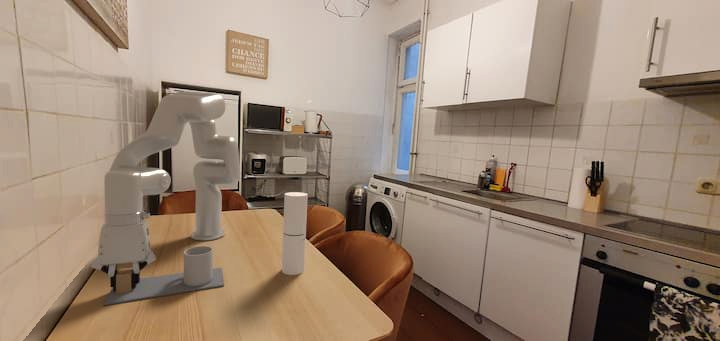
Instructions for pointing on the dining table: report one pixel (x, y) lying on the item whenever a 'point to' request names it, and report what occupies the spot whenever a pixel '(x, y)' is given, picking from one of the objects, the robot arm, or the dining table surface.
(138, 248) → the robot arm
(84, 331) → the dining table surface
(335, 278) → the dining table surface
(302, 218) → the cylindrical container
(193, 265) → the cup
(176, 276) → the strip
